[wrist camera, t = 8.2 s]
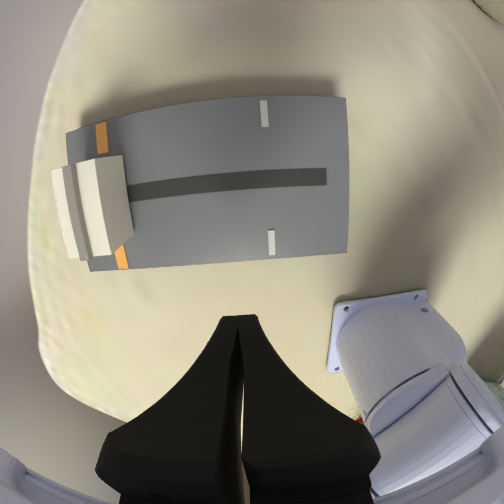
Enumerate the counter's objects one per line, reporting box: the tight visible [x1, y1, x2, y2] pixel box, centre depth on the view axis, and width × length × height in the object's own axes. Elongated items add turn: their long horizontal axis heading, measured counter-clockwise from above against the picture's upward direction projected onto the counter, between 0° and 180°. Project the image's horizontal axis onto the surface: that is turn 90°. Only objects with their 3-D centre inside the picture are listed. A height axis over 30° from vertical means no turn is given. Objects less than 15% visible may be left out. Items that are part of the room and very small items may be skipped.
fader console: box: [66, 95, 349, 272], centre depth 16 cm, size 18×10×2 cm, turn 94°
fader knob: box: [51, 155, 134, 261], centre depth 13 cm, size 3×5×4 cm, turn 4°
